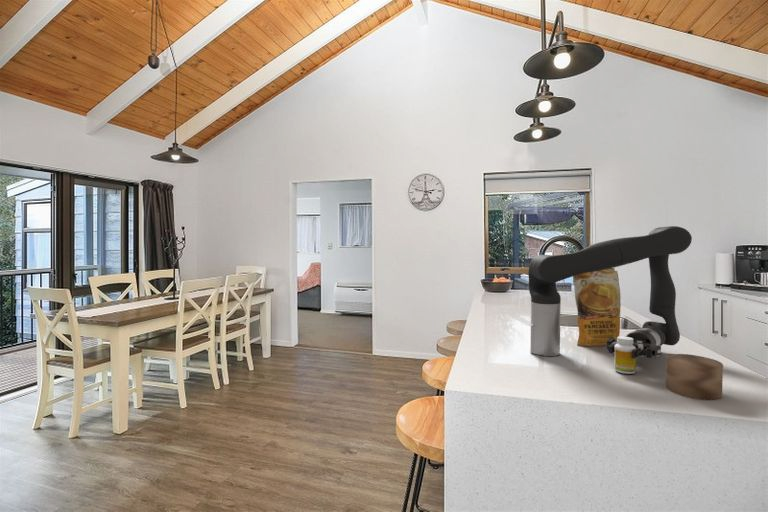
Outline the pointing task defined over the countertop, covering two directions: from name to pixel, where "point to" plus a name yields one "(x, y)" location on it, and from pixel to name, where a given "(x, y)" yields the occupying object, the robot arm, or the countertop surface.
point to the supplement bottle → (624, 355)
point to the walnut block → (694, 376)
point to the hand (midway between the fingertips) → (621, 352)
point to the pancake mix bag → (597, 306)
